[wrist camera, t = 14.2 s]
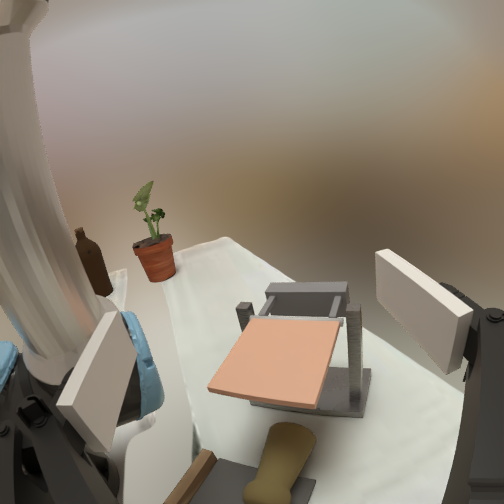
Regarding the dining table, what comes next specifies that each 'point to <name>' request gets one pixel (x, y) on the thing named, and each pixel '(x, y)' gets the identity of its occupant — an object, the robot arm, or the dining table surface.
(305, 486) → the mat
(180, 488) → the wooden picture frame
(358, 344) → the flap stand
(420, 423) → the dining table surface
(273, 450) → the cork
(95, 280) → the olive oil
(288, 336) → the drop flap
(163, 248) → the potted plant
